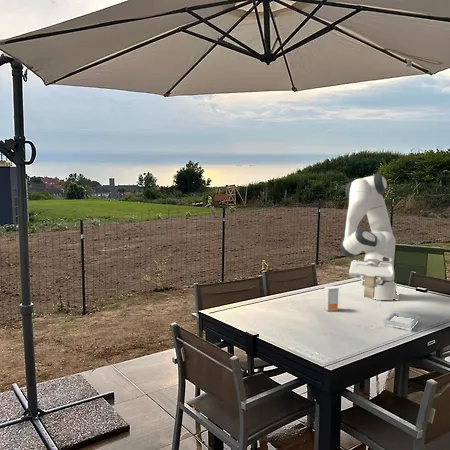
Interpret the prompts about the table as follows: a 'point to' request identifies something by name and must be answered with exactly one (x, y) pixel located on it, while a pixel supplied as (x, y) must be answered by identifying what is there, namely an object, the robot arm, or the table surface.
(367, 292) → the birch block
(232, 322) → the table surface
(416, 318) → the tray
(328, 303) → the skincare box
